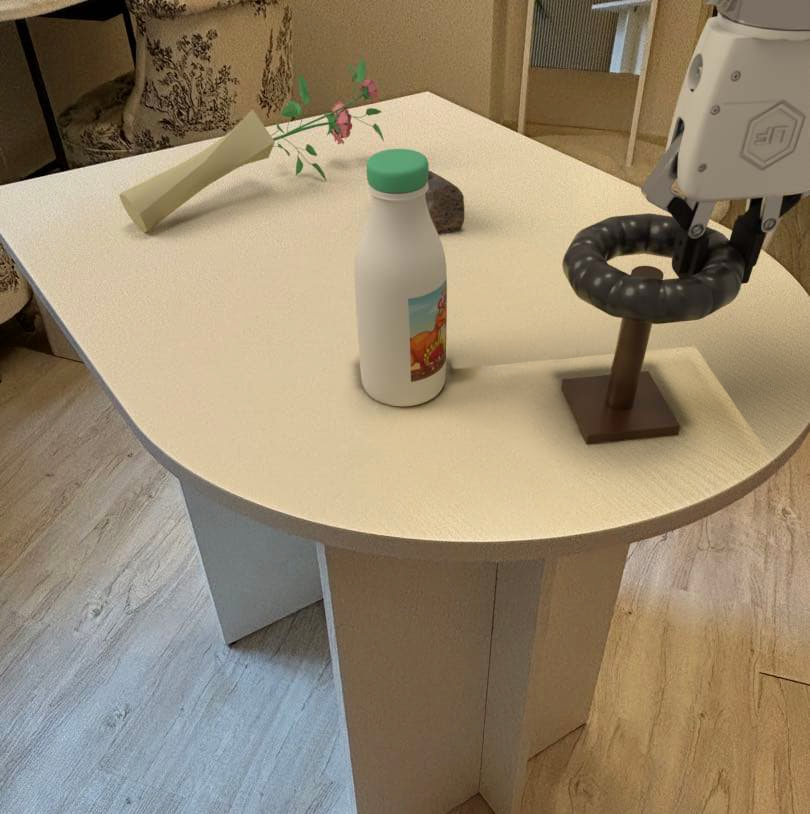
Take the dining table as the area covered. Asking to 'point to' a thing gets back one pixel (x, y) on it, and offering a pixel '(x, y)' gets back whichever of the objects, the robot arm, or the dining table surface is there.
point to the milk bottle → (400, 285)
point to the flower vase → (236, 156)
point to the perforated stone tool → (444, 204)
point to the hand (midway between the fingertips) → (710, 275)
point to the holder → (622, 390)
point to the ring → (642, 293)
